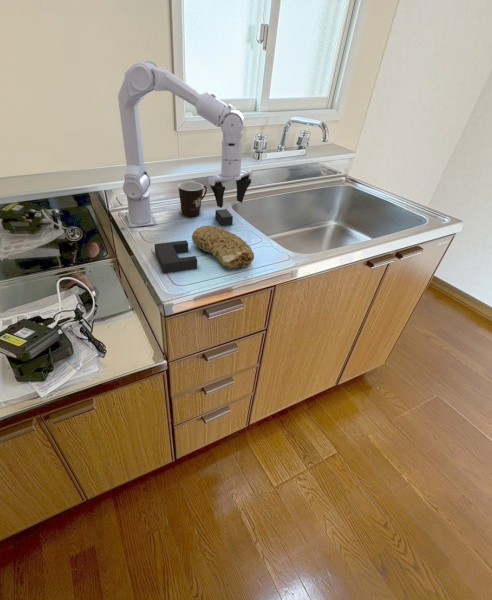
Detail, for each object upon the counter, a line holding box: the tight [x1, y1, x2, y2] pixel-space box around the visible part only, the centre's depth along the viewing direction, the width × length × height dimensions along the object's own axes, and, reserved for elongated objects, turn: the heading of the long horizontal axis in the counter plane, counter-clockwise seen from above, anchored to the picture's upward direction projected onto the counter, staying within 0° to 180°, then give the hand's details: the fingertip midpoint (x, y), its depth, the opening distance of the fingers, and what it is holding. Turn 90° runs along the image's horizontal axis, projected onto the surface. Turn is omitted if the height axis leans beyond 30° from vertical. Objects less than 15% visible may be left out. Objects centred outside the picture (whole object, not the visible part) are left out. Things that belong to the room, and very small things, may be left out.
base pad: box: [154, 239, 198, 274], centre depth 89 cm, size 11×10×3 cm
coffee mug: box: [178, 181, 208, 219], centre depth 112 cm, size 12×9×10 cm
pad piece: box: [214, 208, 234, 226], centre depth 110 cm, size 6×4×3 cm, turn 18°
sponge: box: [191, 225, 255, 270], centre depth 91 cm, size 13×8×20 cm
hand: (229, 203), depth 100 cm, fingers open, 7 cm apart
